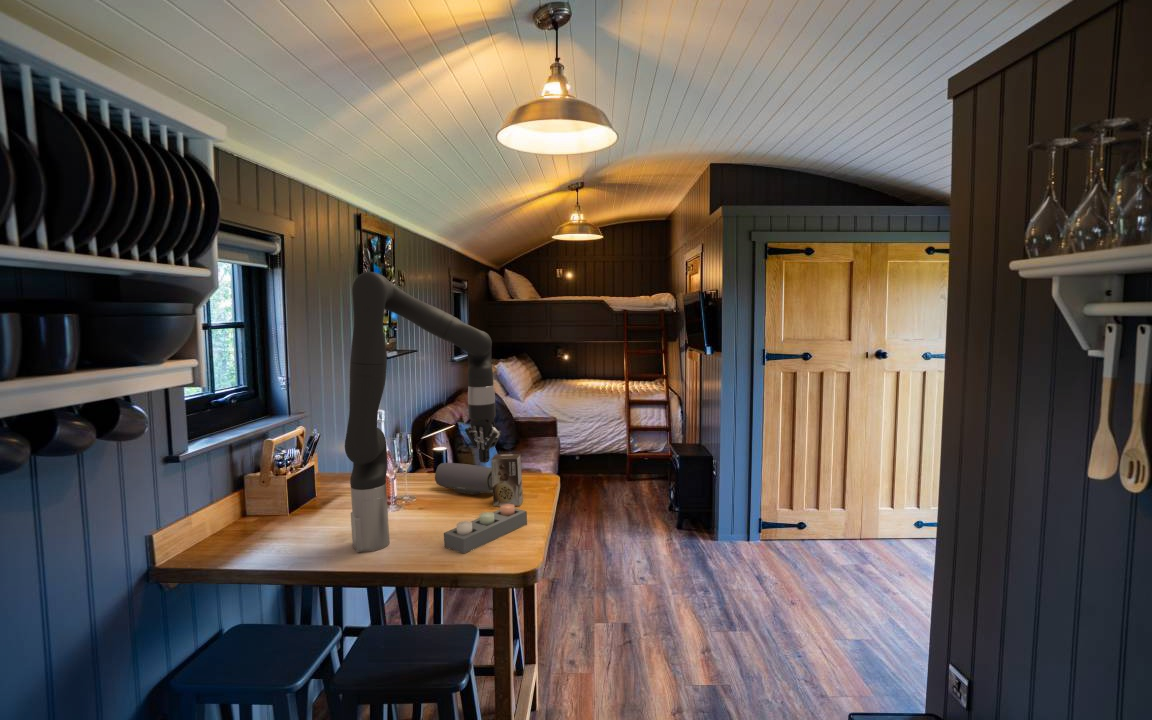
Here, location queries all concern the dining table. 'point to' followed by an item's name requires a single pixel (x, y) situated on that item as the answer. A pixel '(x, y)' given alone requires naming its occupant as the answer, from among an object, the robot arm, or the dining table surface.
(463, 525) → the cream button
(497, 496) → the coffee box
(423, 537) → the dining table surface
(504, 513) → the terracotta button
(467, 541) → the button panel
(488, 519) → the sage button
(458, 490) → the bluetooth speaker
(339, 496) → the dining table surface
